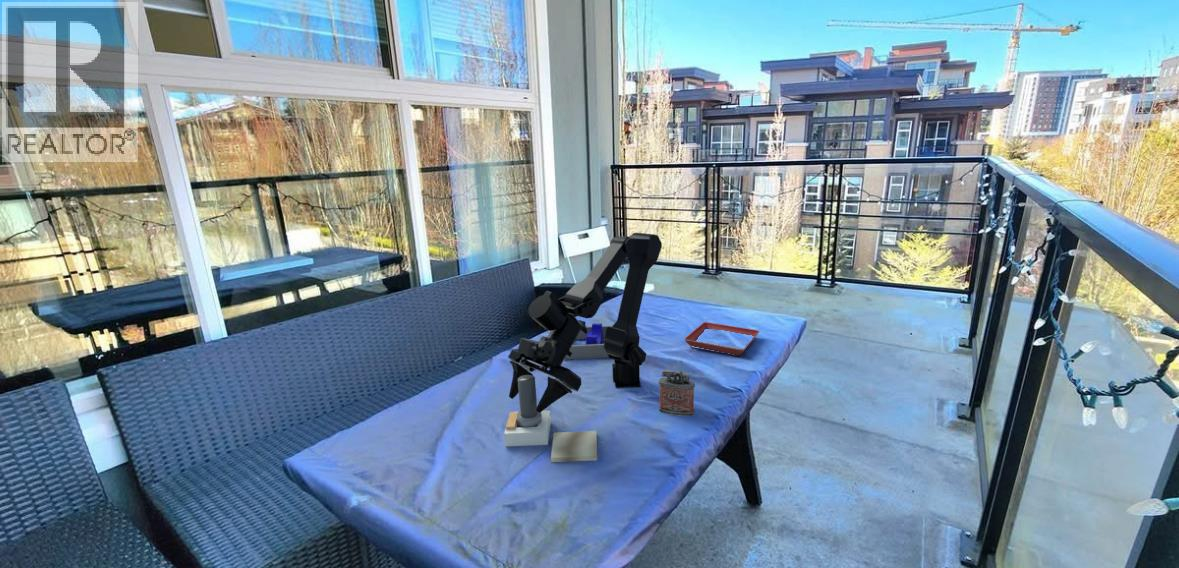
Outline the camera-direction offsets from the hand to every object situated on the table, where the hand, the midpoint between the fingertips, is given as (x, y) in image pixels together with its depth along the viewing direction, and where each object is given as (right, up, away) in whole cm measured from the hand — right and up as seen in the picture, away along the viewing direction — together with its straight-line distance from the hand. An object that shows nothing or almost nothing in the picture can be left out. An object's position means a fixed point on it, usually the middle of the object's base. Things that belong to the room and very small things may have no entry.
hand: (523, 404), depth 105 cm
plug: (+1, -7, +2) cm, 7 cm away
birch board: (+11, -8, -3) cm, 14 cm away
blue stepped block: (+15, +5, +49) cm, 51 cm away
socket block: (+1, -7, +2) cm, 7 cm away
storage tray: (+14, +6, +49) cm, 51 cm away
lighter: (+34, -4, +9) cm, 35 cm away
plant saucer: (+55, +7, +48) cm, 73 cm away
